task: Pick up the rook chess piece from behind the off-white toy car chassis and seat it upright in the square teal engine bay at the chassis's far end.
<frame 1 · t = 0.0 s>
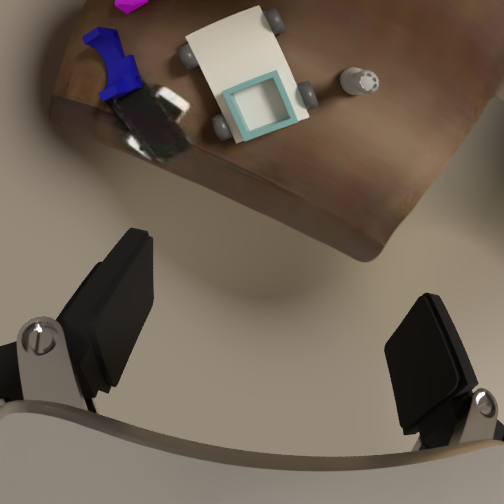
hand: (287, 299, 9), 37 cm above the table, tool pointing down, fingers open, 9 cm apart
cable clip: (122, 61, 36), on the table
rook chess piece: (353, 81, 36), on the table
chassis: (249, 73, 36), on the table
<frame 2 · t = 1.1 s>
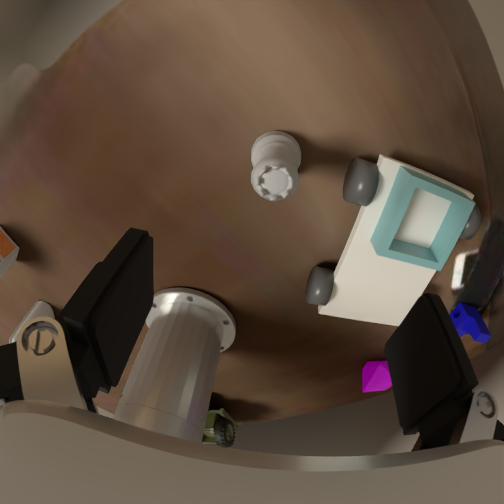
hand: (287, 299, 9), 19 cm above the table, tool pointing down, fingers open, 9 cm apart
toy jeep: (181, 402, 54), on the table
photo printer: (49, 317, 44), on the table
skincare box: (7, 241, 35), on the table
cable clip: (443, 330, 37), on the table
rook chess piece: (276, 153, 25), on the table
crystal: (378, 363, 41), on the table
chassis: (389, 242, 29), on the table
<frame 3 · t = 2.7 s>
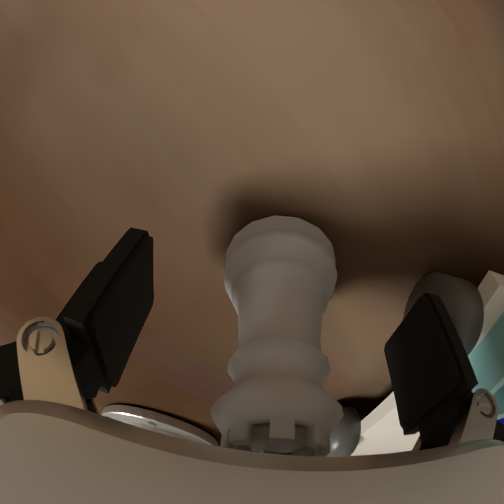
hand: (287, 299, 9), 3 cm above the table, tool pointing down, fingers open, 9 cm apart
rook chess piece: (280, 256, 12), on the table
chassis: (445, 368, 16), on the table
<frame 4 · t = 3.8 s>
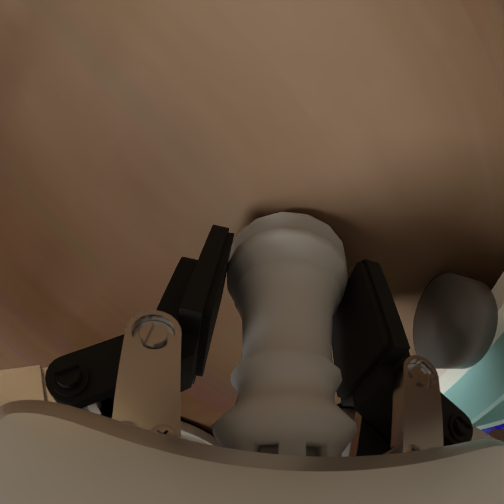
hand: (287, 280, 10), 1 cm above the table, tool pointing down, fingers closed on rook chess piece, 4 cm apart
rook chess piece: (287, 255, 12), on the table, touching gripper
chassis: (453, 370, 15), on the table
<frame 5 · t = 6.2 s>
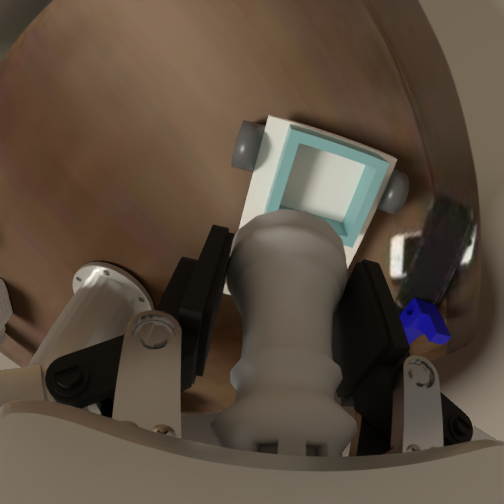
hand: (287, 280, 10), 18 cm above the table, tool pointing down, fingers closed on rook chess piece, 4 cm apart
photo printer: (4, 293, 41), on the table
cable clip: (398, 329, 36), on the table
rook chess piece: (286, 253, 11), point 16 cm above the table, touching gripper
chassis: (300, 217, 28), on the table
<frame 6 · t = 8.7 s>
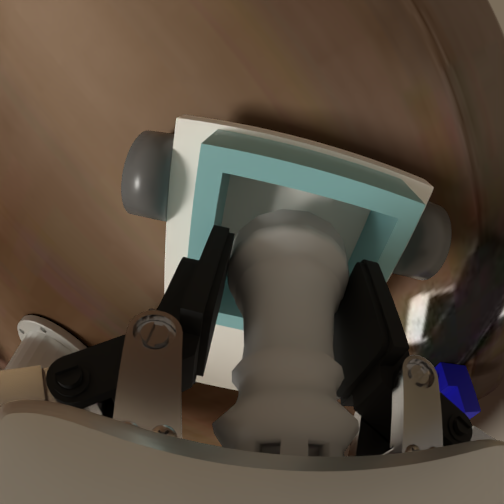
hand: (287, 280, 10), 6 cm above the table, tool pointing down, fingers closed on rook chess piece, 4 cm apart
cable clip: (416, 392, 26), on the table
rook chess piece: (287, 253, 11), point 4 cm above the table, touching gripper
chassis: (267, 278, 18), on the table
when the fingers open (6 cm above the table, at t = 8.8 s): rook chess piece drops 2 cm, resting on chassis.
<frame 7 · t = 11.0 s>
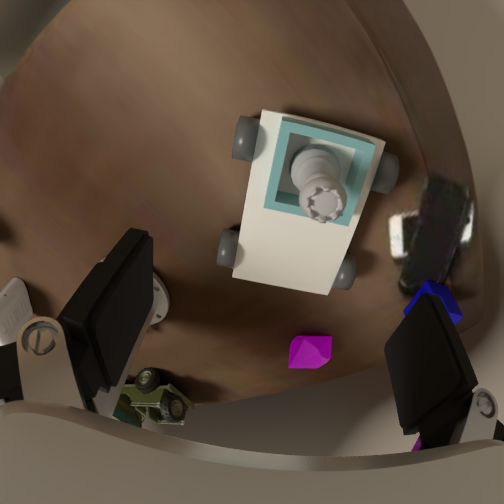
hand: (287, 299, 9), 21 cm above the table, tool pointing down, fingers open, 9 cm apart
toy jeep: (145, 382, 57), on the table
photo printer: (24, 294, 46), on the table
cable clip: (413, 311, 37), on the table
rook chess piece: (314, 166, 25), point 3 cm above the table, touching chassis
crystal: (310, 339, 42), on the table
chassis: (300, 202, 30), on the table
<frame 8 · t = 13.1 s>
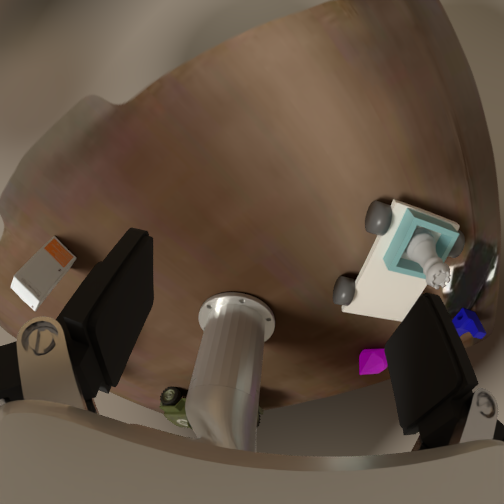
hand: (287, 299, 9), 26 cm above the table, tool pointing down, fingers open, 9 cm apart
toy jeep: (213, 395, 65), on the table
skincare box: (62, 251, 44), on the table
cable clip: (450, 329, 47), on the table
rook chess piece: (416, 240, 34), point 3 cm above the table, touching chassis
crystal: (372, 351, 51), on the table
chassis: (395, 258, 39), on the table
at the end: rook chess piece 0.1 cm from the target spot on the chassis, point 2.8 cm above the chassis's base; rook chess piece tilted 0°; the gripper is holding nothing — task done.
